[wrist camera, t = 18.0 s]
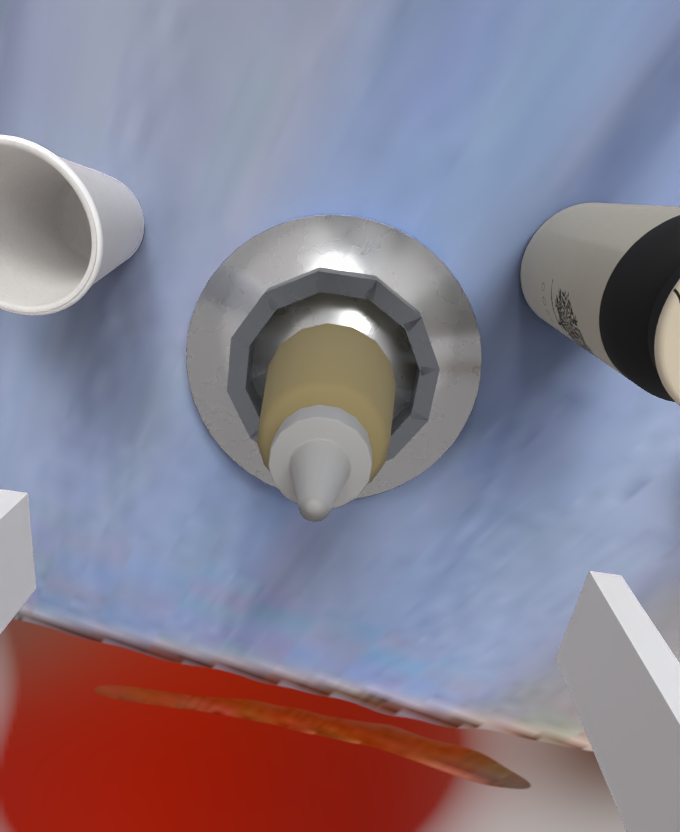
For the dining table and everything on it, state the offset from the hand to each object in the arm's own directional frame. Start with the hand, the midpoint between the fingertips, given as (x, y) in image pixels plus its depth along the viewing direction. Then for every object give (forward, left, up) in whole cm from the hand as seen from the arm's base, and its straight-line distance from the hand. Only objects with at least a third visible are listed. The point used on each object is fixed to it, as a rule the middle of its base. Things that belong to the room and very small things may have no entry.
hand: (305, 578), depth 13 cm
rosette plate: (+3, 0, -27) cm, 27 cm away
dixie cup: (-4, -16, -27) cm, 32 cm away
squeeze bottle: (+3, 0, -26) cm, 26 cm away
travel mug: (-6, +15, -27) cm, 32 cm away
